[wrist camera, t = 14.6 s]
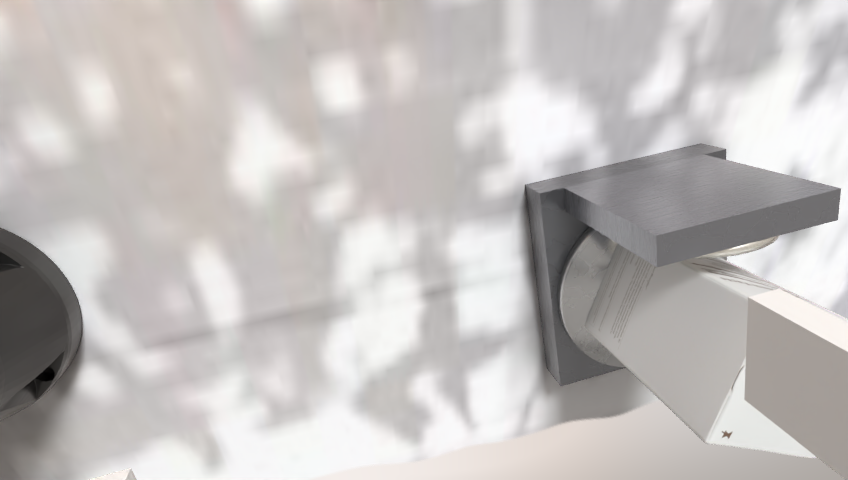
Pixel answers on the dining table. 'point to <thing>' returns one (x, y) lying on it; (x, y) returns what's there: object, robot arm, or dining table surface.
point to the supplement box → (689, 343)
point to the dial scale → (651, 232)
